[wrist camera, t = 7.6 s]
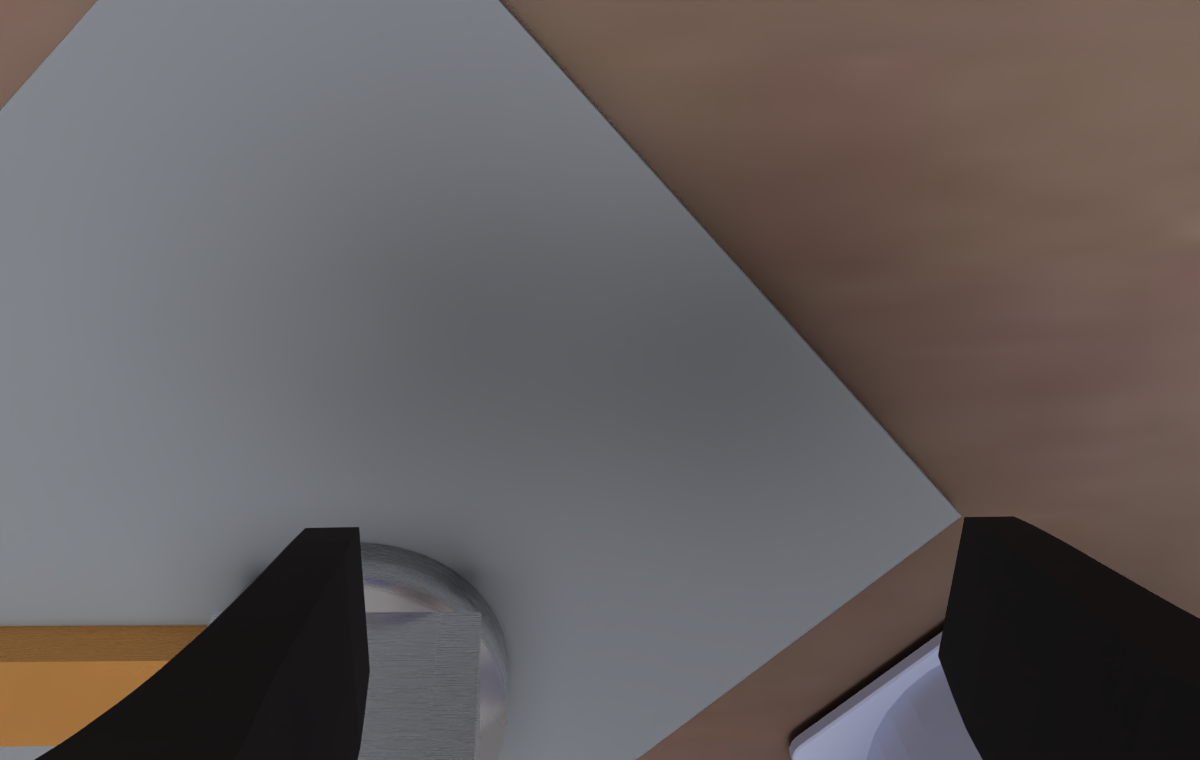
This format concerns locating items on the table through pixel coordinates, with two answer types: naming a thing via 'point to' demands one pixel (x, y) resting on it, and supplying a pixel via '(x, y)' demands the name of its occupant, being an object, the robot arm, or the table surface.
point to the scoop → (136, 652)
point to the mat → (410, 358)
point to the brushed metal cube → (422, 686)
